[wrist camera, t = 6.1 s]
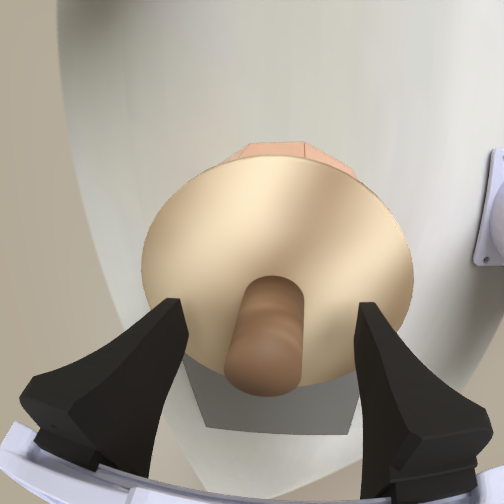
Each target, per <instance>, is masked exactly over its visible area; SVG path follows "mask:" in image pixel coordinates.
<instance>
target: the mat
mask: <svg viewBox="0 0 504 504" xmlns="http://www.w3.org/2000/svg"><path fill="white" fill-rule="evenodd" d="M182 360H183V363H184V366H185V369H186V372H187V375H188V378H189V381H190V384H191V386H192V389H193V392H194V395H195V398H196V401H197V403H198V406H199V409H200V412H201V414H202V417H203V420H204V422H205V425H206V427H210V428H217V429H226V430H235V431H245V432H257V433H272V434H293V435H348V432H349V428H350V425H351V422H352V419H353V415H354V412H355V409H356V405H357V402H358V398H359V394H360V393H359V386H358V380H357V374H356V370H354V371H352V372H350V373H348V374H346V375H343V376H341V377H339V378H336V379H333V380H330V381H327V382H323V383H318V384H314V385H308V386H299V387H296V388H295V389H294V390H292V391H291V392H289V393H287V394H284V395H281V396H276V397H260V396H254V395H250V394H247V393H245V392H242V391H240V390H239V389H237V388H235V387H234V386H233V385H232V384H231V383H230V382H229V381H228V380H227V378H226V377H225V376H224V375H222V374H219V373H217V372H215V371H213V370H211V369H209V368H207V367H206V366H204V365H202V364H200V363H199V362H197V361H196V360H194V359H193V358H192V357H190V356H189V355H187V354H186V353H184V356H183V359H182Z"/></svg>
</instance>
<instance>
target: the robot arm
mask: <svg viewBox="0 0 504 504" xmlns="http://www.w3.org/2000/svg"><path fill="white" fill-rule="evenodd" d="M503 156H504V148H499V147H497V148H495V149H493V151H492V154H491V163H490V172H489V179H488V186H487V193H486V199H485V205H484V210H483V216H482V221H481V226H480V230H479V235H478V239H477V244H476V248H475V252H474V256H473V261H474V263H475V264H476V265H477V266H504V160H503ZM485 257H487V258H486V259H485V260H484V258H485ZM188 338H189V332H188V328H187V324H186V320H185V316H184V312H183V309H182V305H181V301H180V298H166V299H164V300H163V301H162V302H161V303H159V304H158V305H157V306H156V307H154V308H153V309H152V310H151V311H150V312H149V313H147V314H146V315H145V316H144V317H142V318H141V319H140V320H139V321H138V322H136V323H135V324H134V325H133V326H131V327H130V328H129V329H127V330H126V331H125V332H123V333H122V334H121V335H119V336H118V337H117V338H115V339H114V340H113V341H111V342H110V343H108V344H107V345H105V346H103V347H102V348H100V349H98V350H97V351H95V352H93V353H91V354H89V355H88V356H86V357H84V358H82V359H80V360H78V361H76V362H73V363H72V364H69V365H67V366H64V367H61V368H59V369H56V370H53V371H50V372H47V373H44V374H40V375H37V376H34V377H33V378H32V379H31V381H30V382H29V383H28V385H27V386H26V388H25V389H24V391H23V392H22V394H21V395H20V397H19V399H20V403H21V405H22V407H23V408H24V409H25V410H26V412H27V413H28V414H29V415H30V417H31V418H32V419H33V420H34V421H35V422H36V423H37V425H38V426H39V427H40V430H39V432H38V433H37V432H36V431H34V430H33V429H31V428H30V427H28V426H26V425H23V424H22V423H20V422H18V421H15V422H14V424H13V425H12V427H11V429H10V430H9V432H8V433H7V435H6V437H5V438H4V440H3V442H2V444H1V445H0V469H1V470H2V471H3V472H4V473H6V474H7V475H8V476H10V477H11V478H12V479H13V480H15V481H16V482H17V483H19V484H20V485H22V486H23V487H24V488H25V489H27V490H29V491H31V492H32V493H34V494H35V495H37V496H39V497H40V498H42V499H44V500H46V501H47V502H49V503H51V504H504V465H501V466H498V467H495V468H492V469H488V470H485V471H482V472H481V473H478V474H477V475H476V474H475V469H474V468H475V467H477V464H478V463H477V459H476V456H477V455H478V454H479V453H480V452H481V451H482V449H483V448H484V447H485V446H486V445H487V444H488V442H489V441H490V440H491V438H492V436H493V430H492V427H491V423H490V419H489V417H488V414H487V412H486V410H485V408H483V407H481V406H479V405H478V404H476V403H474V402H472V401H471V400H469V399H467V398H465V397H464V396H462V395H461V394H459V393H458V392H456V391H455V390H453V389H452V388H451V387H449V386H448V385H447V384H445V383H444V382H443V381H442V380H441V379H439V378H438V377H437V376H436V375H434V374H433V373H432V372H431V371H430V370H429V369H428V368H427V367H426V366H425V365H424V364H423V363H422V362H421V361H420V360H419V359H418V358H417V357H416V356H415V355H414V354H413V353H412V352H411V350H410V349H409V348H408V347H407V346H406V345H405V343H404V342H403V341H402V340H401V338H400V337H399V336H398V334H397V333H396V332H395V330H394V329H393V328H392V326H391V325H390V324H389V322H388V321H387V319H386V318H385V316H384V315H383V313H382V312H381V310H380V309H379V307H378V306H377V304H376V303H375V302H359V307H358V314H357V321H356V327H355V334H354V340H353V342H354V361H355V368H356V374H357V380H358V386H359V393H360V399H361V406H362V415H363V465H362V483H361V496H360V500H346V501H287V500H285V501H284V500H270V499H258V498H248V497H239V496H231V495H224V494H218V493H211V492H205V491H200V490H195V489H189V488H185V487H180V486H175V485H171V484H166V483H163V482H158V481H155V480H150V479H148V476H149V469H150V462H151V456H152V451H153V446H154V440H155V436H156V432H157V428H158V424H159V420H160V416H161V413H162V409H163V406H164V403H165V400H166V397H167V395H168V392H169V390H170V387H171V385H172V383H173V380H174V378H175V376H176V373H177V371H178V369H179V366H180V364H181V361H182V359H183V356H184V353H185V350H186V346H187V342H188Z"/></svg>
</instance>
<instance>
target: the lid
mask: <svg viewBox="0 0 504 504" xmlns="http://www.w3.org/2000/svg"><path fill="white" fill-rule="evenodd" d="M141 273H142V281H143V287H144V291H145V295H146V298H147V301H148V303H149V306H150V308H151V310H152V309H153V308H154V307H156V306H157V305H158V304H159V303H161V302H162V301H163V300H164V299H166V298H180V301H181V305H182V309H183V312H184V316H185V320H186V324H187V328H188V332H189V338H188V342H187V346H186V350H185V353H186V354H187V355H189V356H190V357H192V358H193V359H194V360H196V361H197V362H199V363H200V364H202V365H204V366H206V367H207V368H209V369H211V370H213V371H215V372H217V373H219V374H222V375H224V376H225V377H226V378H227V380H228V381H229V382H230V383H231V384H232V385H233V386H234V387H235V388H237V389H239V390H240V391H242V392H245V393H247V394H250V395H254V396H260V397H276V396H281V395H284V394H287V393H289V392H291V391H292V390H294V389H295V388H296V387H299V386H308V385H314V384H318V383H323V382H327V381H330V380H333V379H336V378H339V377H341V376H343V375H346V374H348V373H350V372H352V371H354V370H356V368H355V361H354V342H353V340H354V334H355V327H356V321H357V314H358V307H359V302H375V303H376V304H377V306H378V307H379V309H380V310H381V312H382V313H383V315H384V316H385V318H386V319H387V321H388V322H389V324H390V325H391V326H392V328H393V329H394V330H395V332H396V333H397V331H398V330H399V328H400V327H401V325H402V323H403V321H404V319H405V317H406V314H407V312H408V309H409V306H410V302H411V298H412V292H413V284H414V277H413V264H412V259H411V254H410V250H409V247H408V244H407V242H406V239H405V237H404V234H403V232H402V231H401V229H400V227H399V226H398V224H397V222H396V221H395V219H394V217H393V216H392V214H391V212H390V211H389V209H388V208H387V207H386V206H385V205H384V203H383V202H382V201H381V200H380V199H379V198H378V196H377V195H375V194H374V193H373V192H372V191H371V190H370V189H369V188H367V187H366V186H365V185H364V184H363V183H361V182H360V181H358V180H357V179H355V178H354V177H352V176H350V175H349V174H347V173H346V172H344V171H341V170H339V169H337V168H335V167H333V166H330V165H328V164H326V163H322V162H319V161H315V160H312V159H308V158H304V157H297V156H290V155H256V156H249V157H242V158H238V159H235V160H231V161H228V162H224V163H221V164H219V165H217V166H215V167H212V168H210V169H208V170H206V171H204V172H202V173H201V174H199V175H198V176H196V177H195V178H193V179H191V180H190V181H188V182H187V183H186V184H185V185H184V186H183V187H182V188H181V189H179V190H178V191H177V192H176V193H175V194H174V195H173V196H172V197H171V198H170V199H169V200H168V201H167V202H166V204H165V205H164V206H163V207H162V209H161V210H160V211H159V212H158V214H157V215H156V217H155V219H154V221H153V223H152V224H151V226H150V228H149V231H148V234H147V237H146V239H145V242H144V247H143V253H142V265H141Z"/></svg>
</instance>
